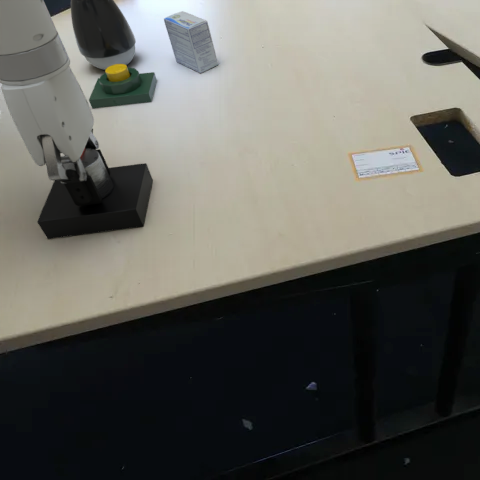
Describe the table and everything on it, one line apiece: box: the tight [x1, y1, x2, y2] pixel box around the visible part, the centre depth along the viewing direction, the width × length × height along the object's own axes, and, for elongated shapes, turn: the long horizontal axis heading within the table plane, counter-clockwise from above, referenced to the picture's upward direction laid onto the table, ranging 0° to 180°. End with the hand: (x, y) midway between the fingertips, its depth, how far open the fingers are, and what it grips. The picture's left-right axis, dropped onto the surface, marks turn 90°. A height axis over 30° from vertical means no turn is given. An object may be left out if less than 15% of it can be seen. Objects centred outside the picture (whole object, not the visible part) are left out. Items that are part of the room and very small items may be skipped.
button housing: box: [88, 66, 158, 110], centre depth 93 cm, size 10×8×4 cm
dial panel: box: [36, 162, 154, 240], centre depth 71 cm, size 12×10×3 cm
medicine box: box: [163, 10, 219, 74], centre depth 99 cm, size 8×4×9 cm, turn 48°
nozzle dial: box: [63, 148, 113, 198], centre depth 68 cm, size 5×5×5 cm
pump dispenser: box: [70, 0, 136, 71], centre depth 98 cm, size 10×10×15 cm
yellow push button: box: [104, 64, 130, 82], centre depth 92 cm, size 4×4×2 cm
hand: (93, 188), depth 70 cm, fingers closed on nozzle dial, 4 cm apart
